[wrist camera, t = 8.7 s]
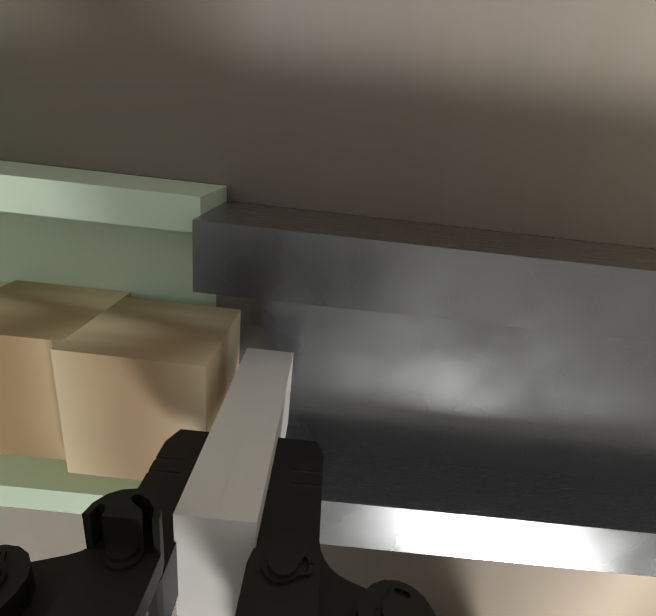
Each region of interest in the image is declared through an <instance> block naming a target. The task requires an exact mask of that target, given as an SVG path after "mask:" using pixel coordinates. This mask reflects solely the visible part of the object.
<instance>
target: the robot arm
mask: <svg viewBox="0 0 656 616" xmlns="http://www.w3.org/2000/svg"><path fill="white" fill-rule="evenodd" d="M293 355H294V353H292V352H282V351H272V350H263V349H253V348H247V349H246V351H245V354H244V356H243V358H242V360H241V363H240V365H239V367H238V369H237V372H236V374H235V376H234V378H233V381H232V383H231V385H230V387H229V390H228V392H227V394H226V396H225V399H224V401H223V403H222V405H221V408H220V410H219V412H218V414H217V417H216V419H215V421H214V423H213V426H212V428H211V430H210V432H205V431H196V430H186V429H180V430H179V431H178V432H176V433H175V434H174V435H172V436H171V437H170V438H169V439H167V440H166V441H165V442H164V444H163V446H162V447H161V449H160V451H159V453H158V454H157V456H156V460H154V461H153V463H152V465H151V466H150V468H149V471H148V473H146V475H145V477H144V479H143V480H142V482H141V484H140V485H139V487H138V488H135V489H121V490H118V491H115V492H112V493H108V494H106V495H104V496H103V497H101V498H99V499H98V500H96V501H94V502H93V503H92V504H91V505H90V506H89V507H88V508H87V509H86V510H85V511H84V512H83V513H82V518H83V525H84V532H85V539H86V546H87V549H84V550H82V551H80V552H77V553H73V554H69V555H65V556H60V557H55V558H50V559H44V560H39V561H34V562H31V561H30V558H29V554H28V553H27V552H26V551H25V550H23V549H22V548H21V547H19V546H12V545H0V616H171V614H172V611H173V609H174V606H175V603H176V605H177V616H435V614H434V611H433V610H432V608H431V607H430V605H429V603H428V602H427V600H426V599H425V597H424V596H422V595H421V594H420V593H419V592H418V591H417V590H416V589H414V588H413V587H412V586H409V585H407V584H405V583H402V582H400V581H395V580H382V581H379V582H377V583H374V584H371V585H370V586H369V587H368V588H367V589H366V588H363V587H361V586H359V585H357V584H354V583H352V582H350V581H348V580H346V579H344V578H342V577H341V576H339V575H338V574H336V573H335V572H334V571H333V570H332V569H331V568H330V567H329V566H328V564H327V563H326V561H325V560H324V558H323V555H322V552H321V550H320V520H321V501H322V481H323V461H324V455H323V453H322V451H321V449H320V447H319V445H318V443H317V441H308V440H298V439H288V438H285V436H286V431H287V425H288V416H289V403H290V391H291V379H292V367H293Z"/></svg>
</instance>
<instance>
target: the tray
mask: <svg viewBox="0 0 656 616" xmlns="http://www.w3.org/2000/svg"><path fill="white" fill-rule="evenodd" d="M226 201H227V186H223V185H214V184H205V183H196V182H187V181H179V180H170V179H161V178H152V177H143V176H134V175H125V174H117V173H108V172H99V171H90V170H81V169H72V168H63V167H55V166H46V165H37V164H28V163H19V162H10V161H1V160H0V282H6V283H11V282H13V281H16V280H21V281H30V282H39V283H48V284H57V285H67V286H76V287H85V288H94V289H103V290H113V291H122V292H130V294H131V297H133V298H142V299H151V300H160V301H169V302H178V303H186V304H195V305H204V306H213V307H216V295H215V294H205V293H196V292H193V246H192V220H193V219H195V218H197V217H198V216H200V215H202V214H204V213H206V212H208V211H209V210H211V209H213V208H215V207H217V206H219V205H220V204H222V203H224V202H226ZM141 482H142V480H133V479H124V478H114V477H105V476H96V475H87V474H78V473H68V468H67V462H66V460H61V459H52V458H42V457H32V456H22V455H13V454H3V453H0V506H6V507H16V508H26V509H36V510H47V511H57V512H67V513H77V514H82V513H83V512H84V511H85V510H86V509H87V508H88V507H89V506H90V505H91V504H92V503H93V502H94V501H96V500H98V499H99V498H101V497H103V496H104V495H106V494H108V493H112V492H115V491H118V490H121V489H135V488H138V487H139V485H140V484H141Z"/></svg>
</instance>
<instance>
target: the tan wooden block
mask: <svg viewBox="0 0 656 616" xmlns="http://www.w3.org/2000/svg"><path fill="white" fill-rule="evenodd" d="M123 297H131V294H130V292H122V291H113V290H103V289H94V288H85V287H76V286H67V285H57V284H48V283H39V282H30V281H21V280H16V281H13V282H11V283H9V284H6V285H4V286H2V287H0V453H3V454H13V455H22V456H32V457H42V458H52V459H61V460H66V455H65V448H64V441H63V434H62V427H61V420H60V413H59V406H58V399H57V392H56V385H55V378H54V371H53V364H52V357H51V350H50V349H52V348H53V347H54V346H56V345H57V344H59V343H60V342H61V341H63V340H64V339H66V338H67V337H68V336H70V335H71V334H73V333H74V332H75V331H77V330H78V329H80V328H81V327H82V326H84V325H85V324H87V323H88V322H90V321H91V320H92V319H94V318H95V317H97V316H98V315H99V314H101V313H102V312H104V311H105V310H106V309H108V308H109V307H111V306H112V305H113V304H115V303H116V302H118V301H119V300H120V299H122V298H123Z"/></svg>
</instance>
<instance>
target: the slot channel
mask: <svg viewBox="0 0 656 616" xmlns="http://www.w3.org/2000/svg"><path fill="white" fill-rule="evenodd" d="M192 246H193V292H196V293H205V294H215V295H216V307H222V308H231V309H240V310H241V321H240V350H239V365H240V363H241V360H242V358H243V356H244V354H245V351H246V349H247V348H253V349H263V350H272V351H282V352H292V353H294V355H293V367H292V379H291V391H290V403H289V416H288V425H287V431H286V436H285V438H288V439H298V440H308V441H317V443H318V445H319V447H320V449H321V451H322V453H323V455H324V461H323V481H322V501H321V520H320V544H326V545H336V546H346V547H356V548H367V549H377V550H387V551H397V552H407V553H418V554H428V555H438V556H448V557H458V558H469V559H479V560H489V561H499V562H510V563H520V564H530V565H540V566H550V567H561V568H571V569H581V570H591V571H601V572H612V573H622V574H632V575H642V576H653V577H656V249H649V248H640V247H631V246H622V245H613V244H604V243H595V242H586V241H578V240H569V239H560V238H551V237H542V236H533V235H524V234H515V233H506V232H497V231H489V230H480V229H471V228H462V227H453V226H444V225H435V224H426V223H417V222H408V221H399V220H391V219H382V218H373V217H364V216H355V215H346V214H337V213H328V212H319V211H310V210H301V209H293V208H284V207H275V206H266V205H257V204H248V203H239V202H230V201H226V202H224V203H222V204H220V205H219V206H217V207H215V208H213V209H211V210H209V211H208V212H206V213H204V214H202V215H200V216H198V217H197V218H195V219H193V220H192Z"/></svg>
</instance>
